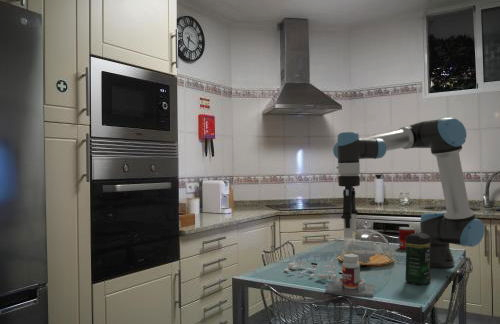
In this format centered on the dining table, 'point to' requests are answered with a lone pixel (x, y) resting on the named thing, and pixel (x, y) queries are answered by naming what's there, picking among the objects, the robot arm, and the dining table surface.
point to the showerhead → (364, 255)
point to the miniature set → (321, 276)
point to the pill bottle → (350, 271)
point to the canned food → (404, 235)
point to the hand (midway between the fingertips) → (350, 234)
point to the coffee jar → (418, 258)
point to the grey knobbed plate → (361, 291)
